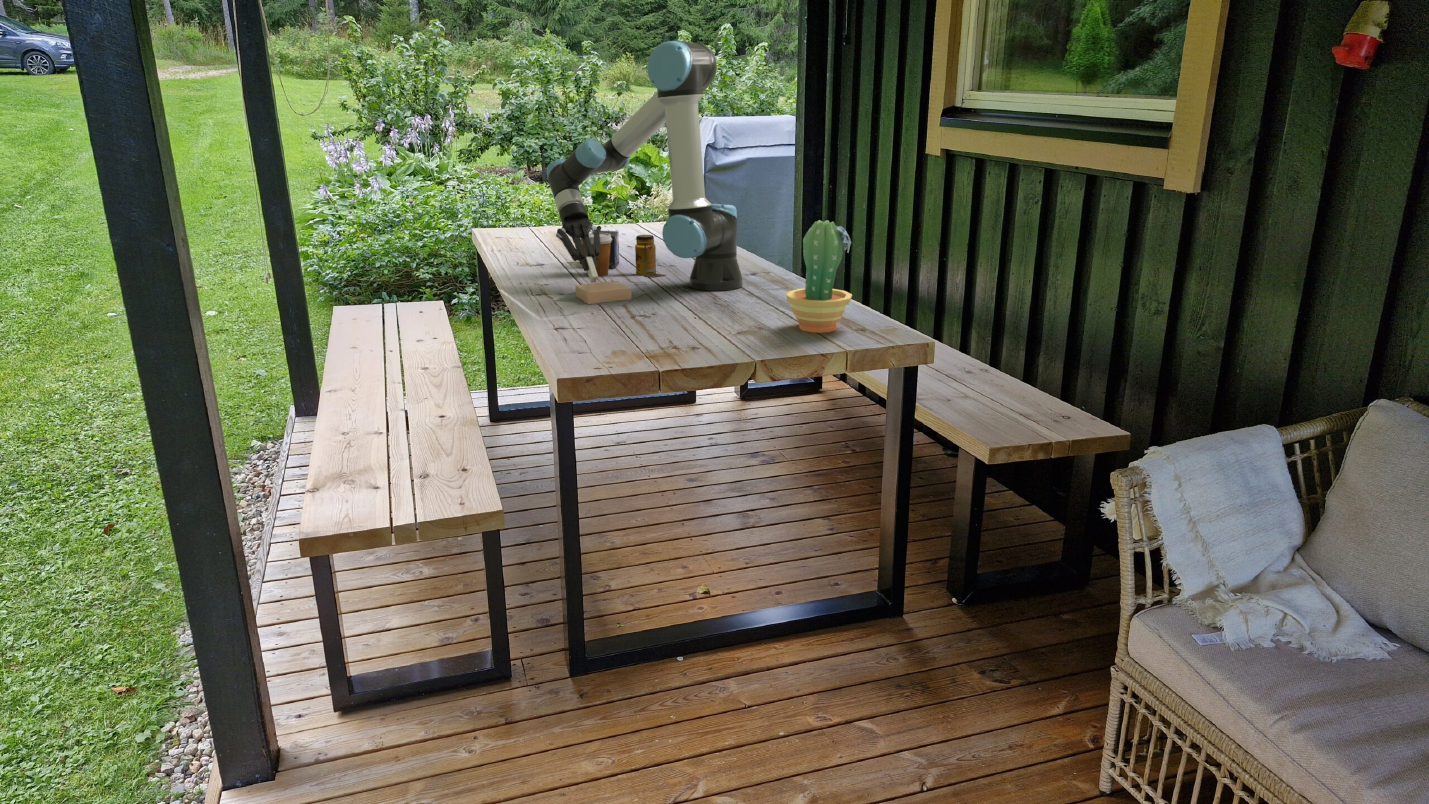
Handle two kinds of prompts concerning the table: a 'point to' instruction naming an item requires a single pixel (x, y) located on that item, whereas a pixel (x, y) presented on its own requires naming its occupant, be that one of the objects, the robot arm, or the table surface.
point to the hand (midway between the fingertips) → (594, 279)
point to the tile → (603, 292)
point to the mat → (573, 298)
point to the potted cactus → (821, 279)
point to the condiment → (646, 256)
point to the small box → (613, 249)
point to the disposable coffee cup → (602, 253)
